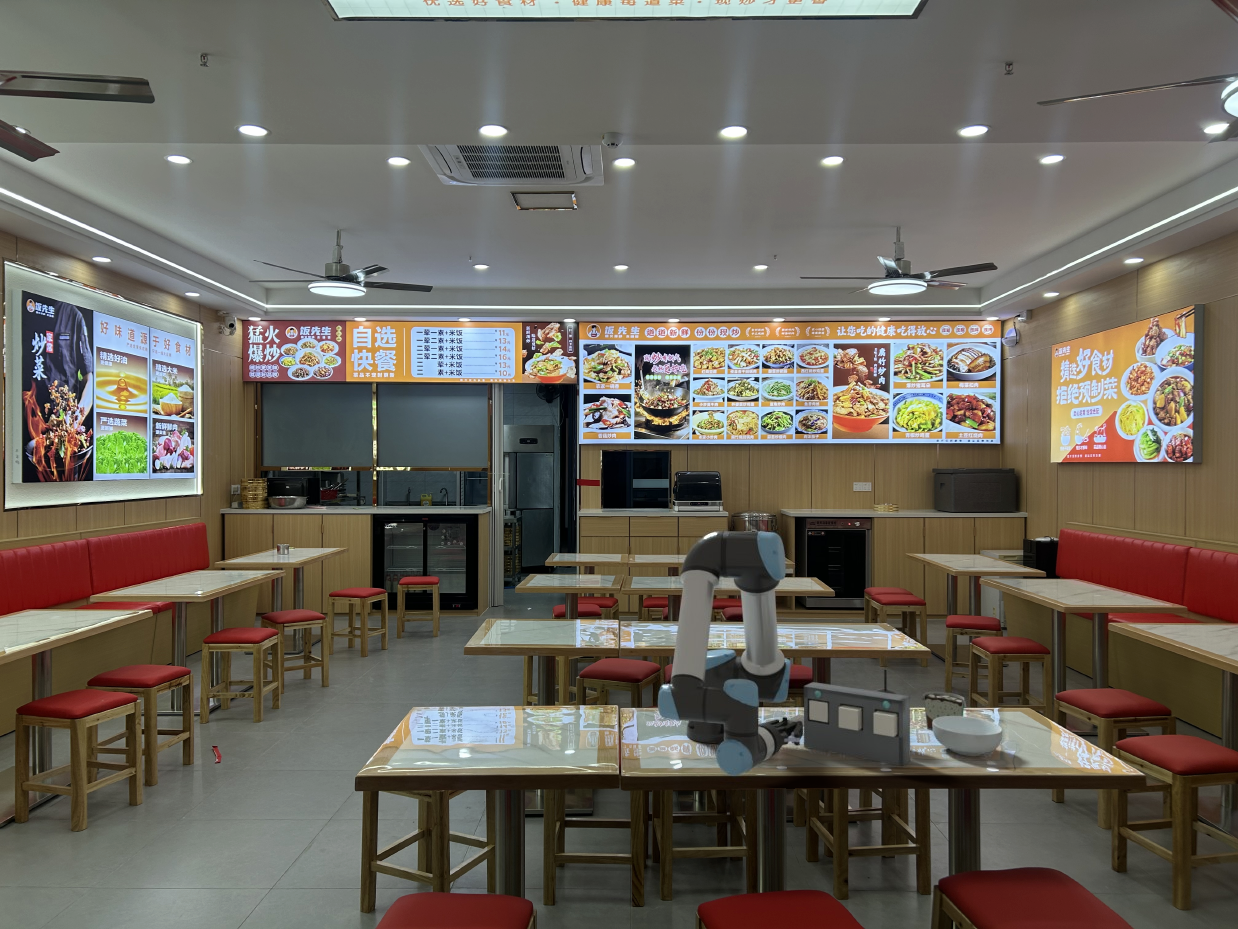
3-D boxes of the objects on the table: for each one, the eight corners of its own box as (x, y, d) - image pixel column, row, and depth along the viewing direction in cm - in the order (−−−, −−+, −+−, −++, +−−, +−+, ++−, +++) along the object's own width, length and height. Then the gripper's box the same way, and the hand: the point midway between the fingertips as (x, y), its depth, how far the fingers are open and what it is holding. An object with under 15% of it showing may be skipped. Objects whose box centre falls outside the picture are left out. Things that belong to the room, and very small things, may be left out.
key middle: (857, 730, 209) (857, 710, 209) (838, 727, 212) (838, 707, 212) (863, 727, 213) (863, 707, 213) (844, 723, 215) (844, 704, 216)
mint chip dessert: (973, 732, 235) (973, 696, 235) (965, 736, 231) (965, 700, 231) (930, 723, 244) (930, 689, 244) (921, 728, 239) (921, 693, 239)
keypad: (902, 766, 205) (902, 701, 205) (803, 747, 220) (803, 686, 220) (910, 760, 210) (909, 696, 210) (812, 741, 225) (812, 682, 225)
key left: (827, 722, 217) (827, 703, 217) (809, 719, 219) (809, 700, 220) (833, 719, 220) (833, 700, 220) (815, 716, 223) (815, 697, 223)
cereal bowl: (931, 757, 213) (931, 729, 213) (932, 739, 228) (932, 713, 228) (1004, 765, 206) (1004, 736, 207) (1000, 746, 222) (1000, 719, 222)
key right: (893, 736, 204) (893, 716, 204) (873, 733, 207) (873, 713, 207) (898, 733, 207) (898, 713, 207) (878, 729, 210) (878, 709, 210)
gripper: (734, 754, 193) (777, 731, 213) (787, 764, 186) (826, 740, 205) (735, 721, 194) (777, 701, 213) (787, 731, 186) (826, 709, 205)
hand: (801, 720), depth 209 cm, fingers closed
